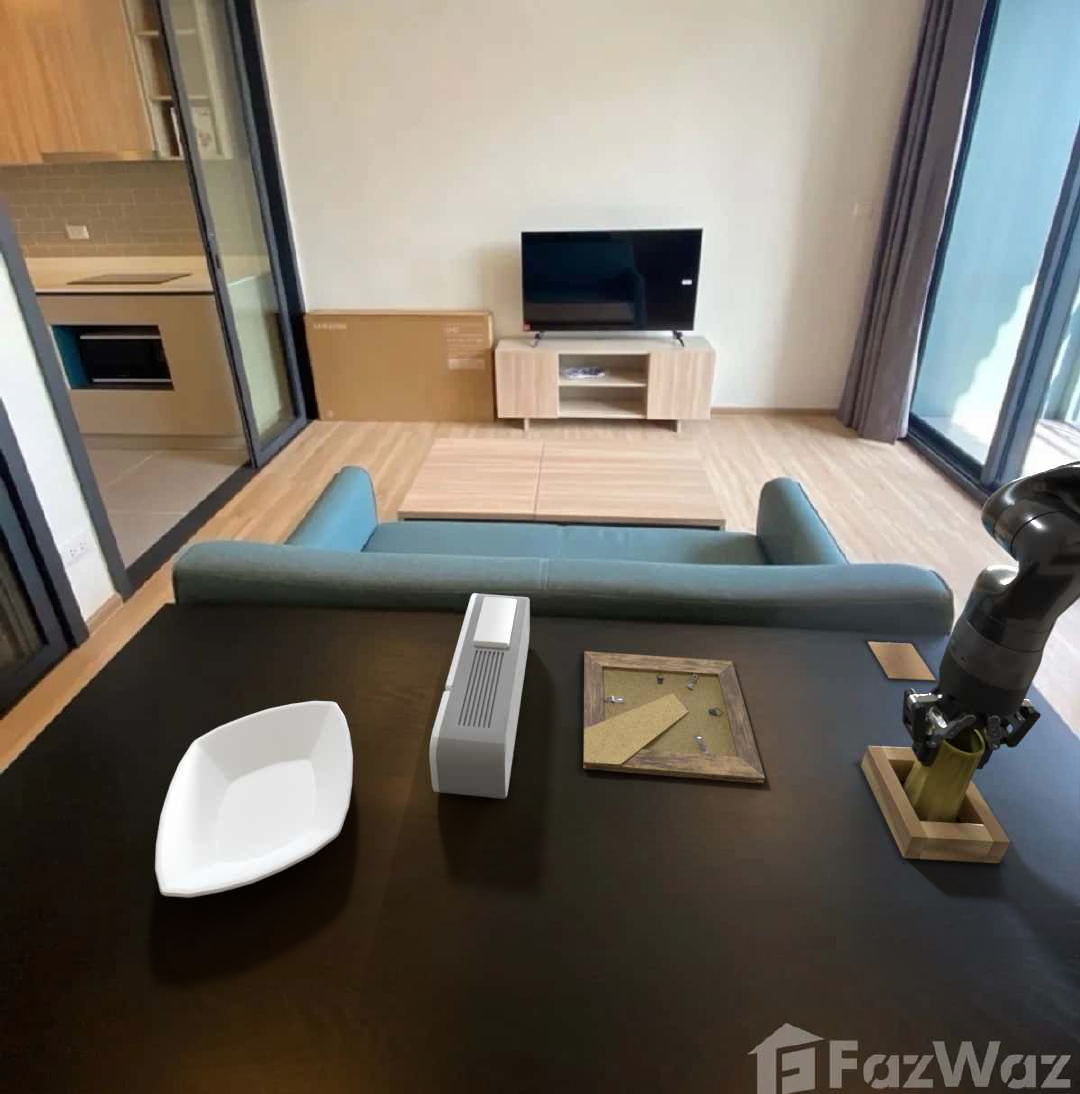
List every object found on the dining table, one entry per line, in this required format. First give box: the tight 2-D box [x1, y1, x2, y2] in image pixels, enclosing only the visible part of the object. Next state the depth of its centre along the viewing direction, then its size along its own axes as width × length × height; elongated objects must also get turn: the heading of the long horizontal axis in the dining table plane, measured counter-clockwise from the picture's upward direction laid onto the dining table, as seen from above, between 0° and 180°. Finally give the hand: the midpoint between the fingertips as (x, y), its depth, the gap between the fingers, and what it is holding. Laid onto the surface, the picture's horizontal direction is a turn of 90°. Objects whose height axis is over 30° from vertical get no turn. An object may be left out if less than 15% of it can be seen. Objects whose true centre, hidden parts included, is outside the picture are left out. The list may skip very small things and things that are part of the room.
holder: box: [860, 745, 1011, 864], centre depth 72 cm, size 11×11×4 cm
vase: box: [902, 714, 985, 823], centre depth 70 cm, size 6×6×14 cm
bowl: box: [154, 700, 354, 899], centre depth 72 cm, size 22×22×5 cm
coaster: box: [867, 641, 937, 682], centre depth 94 cm, size 7×7×1 cm
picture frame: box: [582, 650, 766, 784], centre depth 85 cm, size 19×2×24 cm
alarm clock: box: [428, 593, 531, 800], centre depth 83 cm, size 27×9×12 cm, turn 175°
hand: (947, 760), depth 69 cm, fingers closed on vase, 5 cm apart
